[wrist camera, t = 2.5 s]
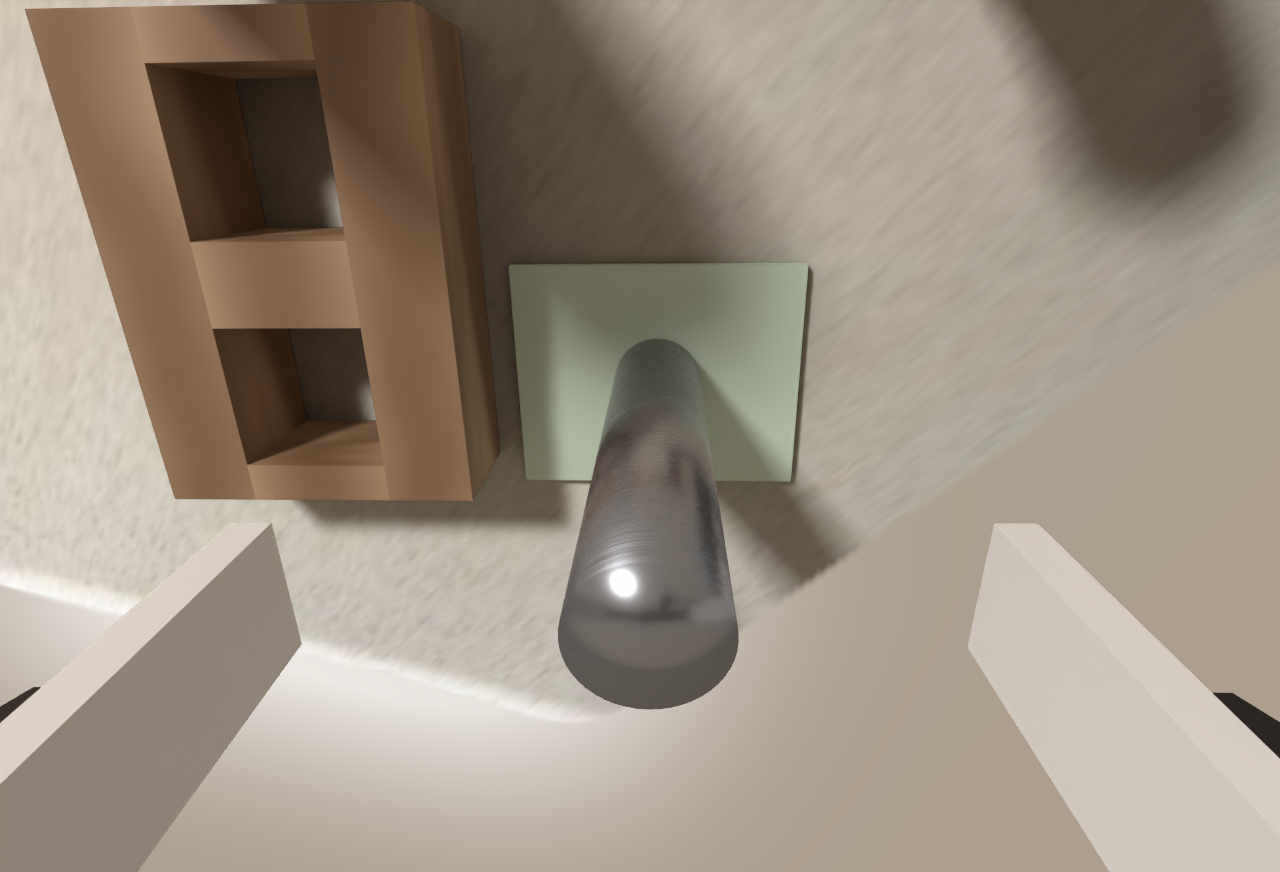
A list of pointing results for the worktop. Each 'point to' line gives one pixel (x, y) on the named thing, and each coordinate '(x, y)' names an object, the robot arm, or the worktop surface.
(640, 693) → the pin
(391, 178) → the socket block
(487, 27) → the worktop surface
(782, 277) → the mat
